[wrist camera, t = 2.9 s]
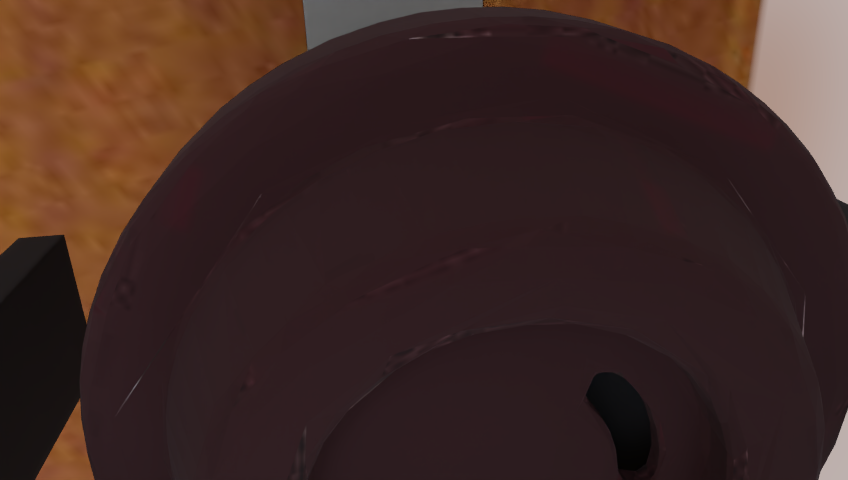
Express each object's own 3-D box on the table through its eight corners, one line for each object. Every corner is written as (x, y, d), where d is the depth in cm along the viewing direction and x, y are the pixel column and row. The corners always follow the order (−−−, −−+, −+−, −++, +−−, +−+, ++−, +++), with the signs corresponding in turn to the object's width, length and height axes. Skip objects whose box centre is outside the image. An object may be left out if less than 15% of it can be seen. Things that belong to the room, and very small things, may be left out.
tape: (292, -111, 18) (292, -111, 18) (482, -116, 19) (482, -117, 19) (337, 351, 24) (336, 353, 24) (482, 337, 24) (483, 339, 24)
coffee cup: (222, 278, 22) (37, 829, 8) (243, -60, 18) (-23, -70, 5) (523, 306, 24) (782, 804, 10) (597, 1, 20) (1163, 127, 6)
